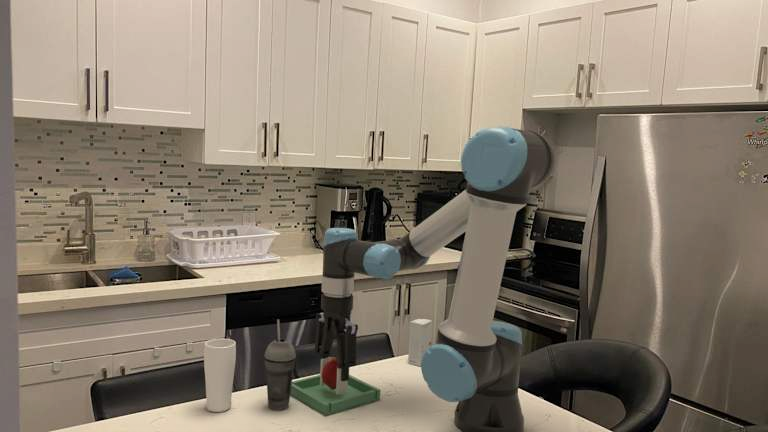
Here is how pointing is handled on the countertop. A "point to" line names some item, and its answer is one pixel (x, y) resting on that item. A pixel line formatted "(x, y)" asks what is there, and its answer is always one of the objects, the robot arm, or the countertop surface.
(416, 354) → the skincare box
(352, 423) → the countertop surface
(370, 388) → the green square tray
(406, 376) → the countertop surface
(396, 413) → the countertop surface
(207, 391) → the drinking glass
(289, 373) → the beverage cup
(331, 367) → the onion
